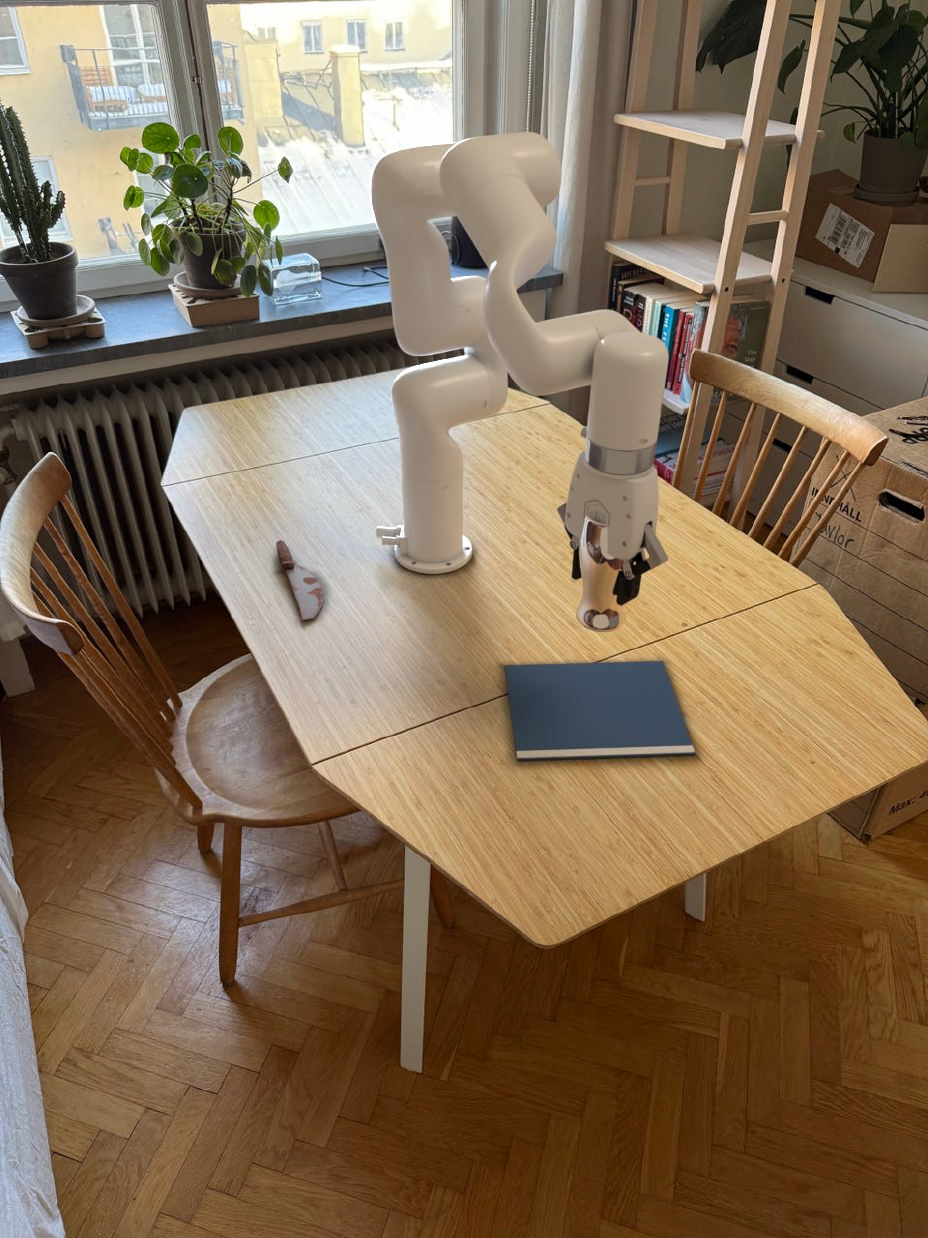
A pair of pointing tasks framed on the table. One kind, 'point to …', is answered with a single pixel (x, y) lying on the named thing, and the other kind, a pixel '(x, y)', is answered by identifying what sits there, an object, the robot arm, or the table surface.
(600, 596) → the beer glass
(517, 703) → the blue hardcover book
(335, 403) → the table surface
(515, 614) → the table surface
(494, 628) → the table surface
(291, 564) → the kitchen knife
